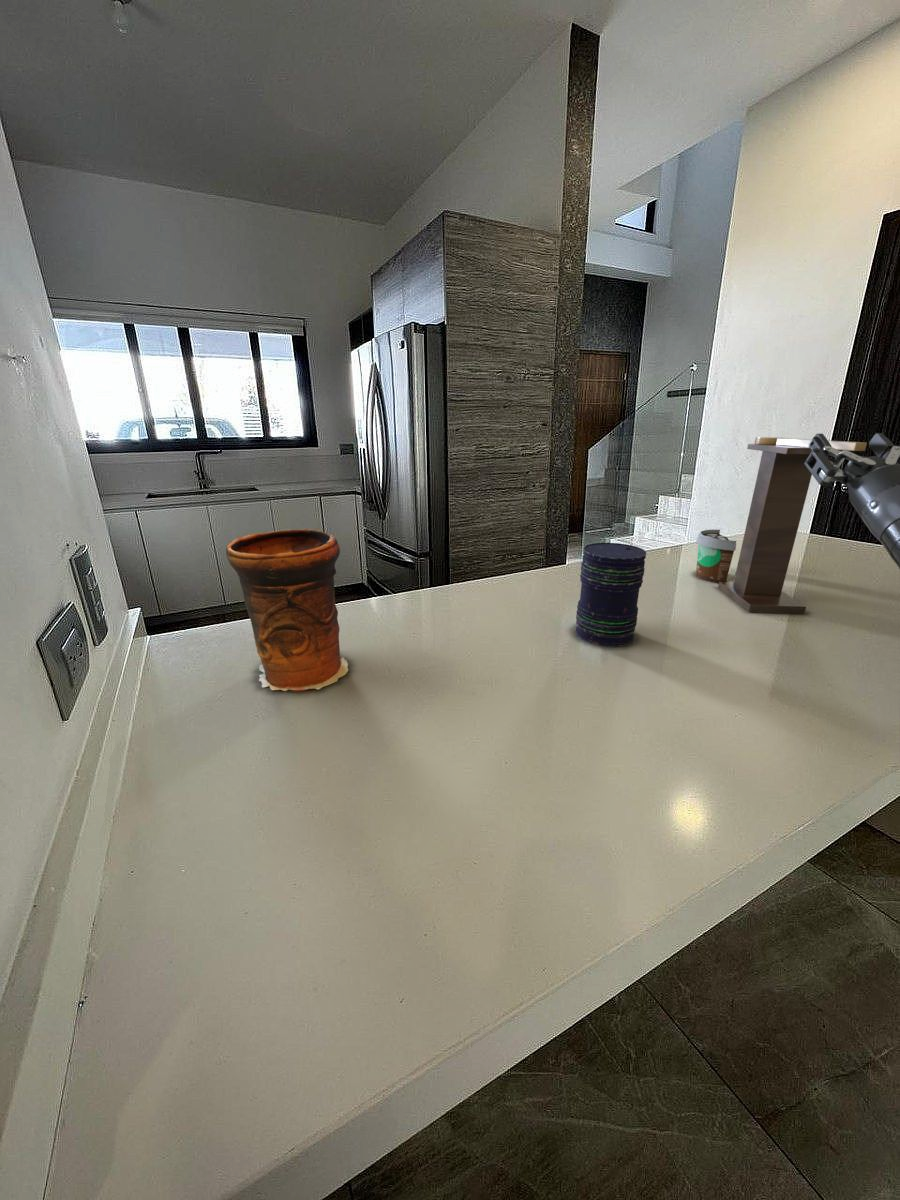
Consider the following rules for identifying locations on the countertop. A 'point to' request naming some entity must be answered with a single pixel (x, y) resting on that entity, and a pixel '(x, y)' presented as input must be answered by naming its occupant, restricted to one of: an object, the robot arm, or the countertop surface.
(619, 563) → the storage jar
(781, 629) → the countertop surface
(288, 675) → the vessel
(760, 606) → the brown pedestal stand
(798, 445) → the wooden spoon
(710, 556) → the food container
